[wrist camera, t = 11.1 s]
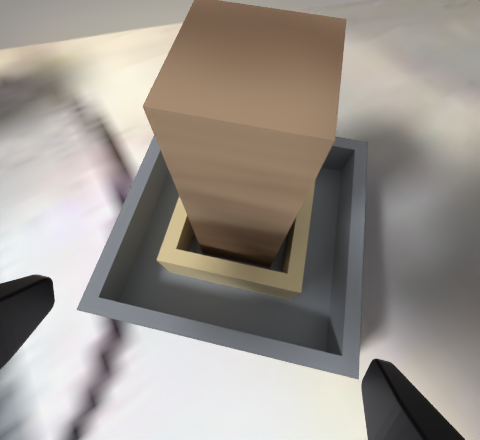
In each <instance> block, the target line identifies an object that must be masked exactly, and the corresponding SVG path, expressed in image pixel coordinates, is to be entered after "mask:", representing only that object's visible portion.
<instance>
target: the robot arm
mask: <svg viewBox="0 0 480 440" xmlns="http://www.w3.org/2000/svg"><path fill="white" fill-rule="evenodd" d="M54 302H55V299H54V290H53V282H52V280H51V278H49V277H46V276H42V275H31V276H27V277H23V278H20V279H16V280H12V281H9V282H5V283H1V284H0V370H1V369H2V368H3V366H4V365H5V364H6V363H7V362H8V361H9V360H10V359H11V358H12V357H13V355H14V354H15V353H16V352H17V351H18V350H19V348H20V347H21V346H22V345H23V343H24V342H25V341H26V340H27V339H28V337H29V336H30V335H31V334H32V332H33V331H34V330H35V329H36V328H37V326H38V325H39V324H40V323H41V321H42V320H43V319H44V318H45V317H46V315H47V314H48V313H49V312H50V310H51V309H52V307H53V305H54ZM362 397H363V405H364V413H365V420H366V428H367V436H368V440H465V439H464V438H463V437H462V436H461V435H460V434H459V433H458V431H457V430H456V429H455V428H454V427H453V426H452V425H451V424H450V423H449V422H448V421H447V420H446V419H445V418H444V417H443V416H442V415H441V414H440V413H439V412H438V411H437V409H436V408H435V407H434V406H433V405H432V404H431V403H430V402H429V401H428V400H427V399H426V398H425V397H424V396H423V395H422V394H421V393H420V392H419V391H418V390H417V389H416V388H415V386H414V385H413V384H412V383H411V382H410V381H409V380H408V379H407V378H406V377H405V376H404V375H403V374H402V373H401V372H400V371H399V370H398V369H397V368H396V367H395V366H394V365H393V364H392V363H391V362H388V361H384V360H380V359H374V360H372V362H371V364H370V366H369V368H368V370H367V372H366V374H365V376H364V378H363V380H362Z"/></svg>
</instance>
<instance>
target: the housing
mask: <svg viewBox="0 0 480 440" xmlns="http://www.w3.org/2000/svg"><path fill="white" fill-rule="evenodd" d="M367 146H368V143H367V142H362V141H356V140H351V139H345V138H340V137H335V142H334V144H333V146H332V148H331V150H330V151H329V153H328V155H327V157H326V159H325V161H324V163H323V165H322V167H321V169H320V171H319V173H318V175H317V177H316V179H315V181H314V183H313V185H312V187H311V189H310V190H309V192H308V194H307V196H306V198H305V200H304V202H303V204H302V206H301V208H300V210H299V212H298V214H297V216H296V218H295V220H294V222H293V224H292V226H291V228H290V229H289V231H288V233H287V235H286V237H285V239H284V241H283V243H282V245H281V247H280V249H279V251H278V253H277V255H276V257H275V259H274V261H273V263H272V265H271V267H270V268H269V267H265V266H260V265H255V264H251V263H246V262H242V261H237V260H232V259H228V258H223V257H219V256H214V255H209V254H205V253H203V252H202V250H201V248H200V245H199V243H198V240H197V238H196V235H195V233H194V230H193V228H192V226H191V223H190V221H189V218H188V216H187V213H186V211H185V208H184V206H183V204H182V201H181V199H180V196H179V194H178V191H177V189H176V186H175V184H174V182H173V179H172V177H171V174H170V172H169V169H168V167H167V164H166V162H165V160H164V157H163V155H162V152H161V150H160V147H159V145H158V142H157V140H156V138H155V135H154V137H153V139H152V141H151V144H150V146H149V148H148V150H147V153H146V155H145V157H144V159H143V162H142V164H141V166H140V168H139V171H138V173H137V175H136V177H135V180H134V182H133V184H132V186H131V189H130V191H129V193H128V195H127V198H126V200H125V202H124V204H123V207H122V209H121V211H120V213H119V216H118V218H117V220H116V222H115V225H114V227H113V229H112V231H111V234H110V236H109V238H108V240H107V243H106V245H105V247H104V249H103V252H102V254H101V256H100V258H99V261H98V263H97V265H96V267H95V270H94V272H93V274H92V276H91V279H90V281H89V283H88V285H87V288H86V290H85V292H84V294H83V297H82V299H81V301H80V303H79V306H78V308H77V310H79V311H83V312H88V313H92V314H96V315H100V316H104V317H108V318H112V319H116V320H120V321H124V322H128V323H132V324H136V325H140V326H144V327H148V328H152V329H156V330H161V331H165V332H169V333H173V334H177V335H181V336H185V337H189V338H193V339H197V340H201V341H205V342H209V343H213V344H217V345H221V346H225V347H229V348H233V349H238V350H242V351H246V352H250V353H254V354H258V355H262V356H266V357H270V358H274V359H278V360H282V361H286V362H290V363H294V364H298V365H302V366H306V367H311V368H315V369H319V370H323V371H327V372H331V373H335V374H339V375H343V376H347V377H351V378H355V379H359V355H360V329H361V302H362V276H363V250H364V224H365V198H366V172H367Z"/></svg>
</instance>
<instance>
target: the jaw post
mask: <svg viewBox="0 0 480 440" xmlns="http://www.w3.org/2000/svg"><path fill="white" fill-rule="evenodd" d="M345 29H346V19H342V18H335V17H328V16H321V15H315V14H308V13H301V12H294V11H287V10H280V9H273V8H267V7H260V6H253V5H246V4H239V3H232V2H225V1H219V0H194V2H193V4H192V6H191V8H190V11H189V12H188V14H187V17H186V19H185V21H184V23H183V25H182V27H181V29H180V31H179V33H178V35H177V37H176V39H175V41H174V43H173V45H172V47H171V49H170V51H169V53H168V56H167V58H166V60H165V62H164V64H163V66H162V68H161V70H160V72H159V74H158V76H157V78H156V80H155V82H154V84H153V86H152V88H151V90H150V92H149V95H148V97H147V99H146V101H145V103H144V105H143V108H144V111H145V113H146V116H147V118H148V120H149V123H150V125H151V128H152V130H153V133H154V135H155V138H156V140H157V142H158V145H159V147H160V150H161V152H162V155H163V157H164V160H165V162H166V164H167V167H168V169H169V172H170V174H171V177H172V179H173V182H174V184H175V186H176V189H177V191H178V194H179V196H180V199H181V201H182V204H183V206H184V208H185V211H186V213H187V216H188V218H189V221H190V223H191V226H192V228H193V230H194V233H195V235H196V238H197V240H198V243H199V245H200V248H201V250H202V252H203V253H205V254H209V255H214V256H219V257H223V258H228V259H232V260H237V261H242V262H246V263H251V264H255V265H260V266H265V267H269V268H270V267H271V265H272V263H273V261H274V259H275V257H276V255H277V253H278V251H279V249H280V247H281V245H282V243H283V241H284V239H285V237H286V235H287V233H288V231H289V229H290V228H291V226H292V224H293V222H294V220H295V218H296V216H297V214H298V212H299V210H300V208H301V206H302V204H303V202H304V200H305V198H306V196H307V194H308V192H309V190H310V189H311V187H312V185H313V183H314V181H315V179H316V177H317V175H318V173H319V171H320V169H321V167H322V165H323V163H324V161H325V159H326V157H327V155H328V153H329V151H330V150H331V148H332V146H333V144H334V142H335V135H336V125H337V114H338V103H339V93H340V82H341V71H342V61H343V50H344V39H345Z"/></svg>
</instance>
